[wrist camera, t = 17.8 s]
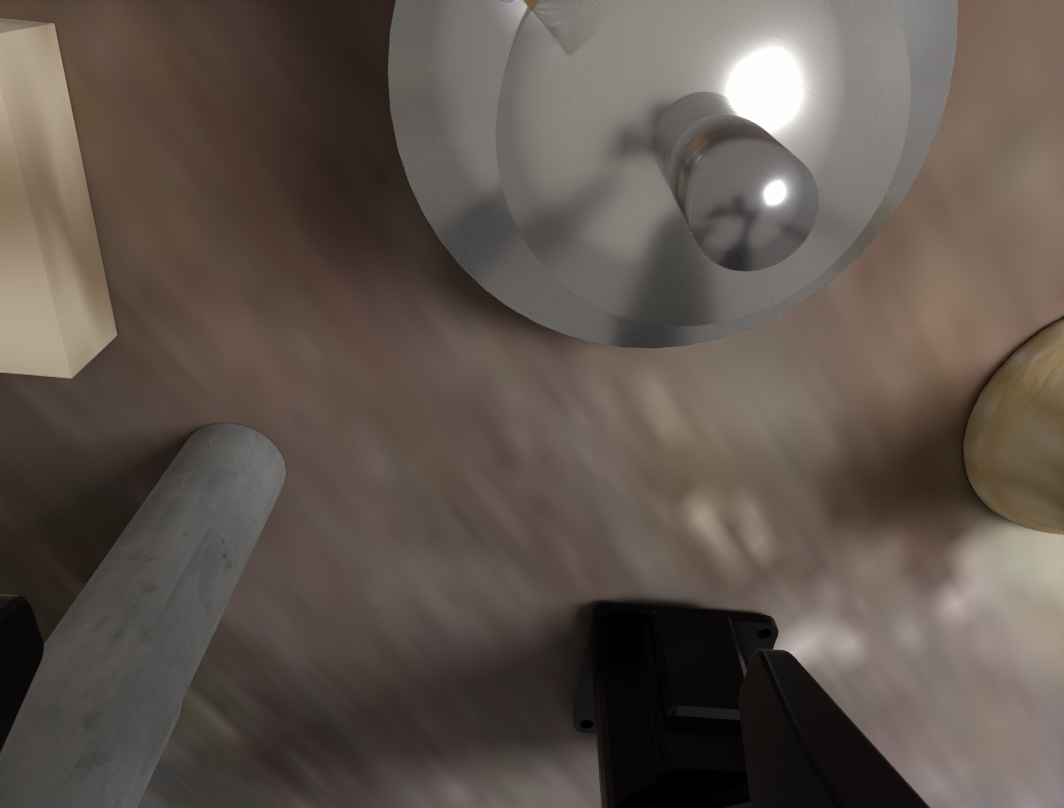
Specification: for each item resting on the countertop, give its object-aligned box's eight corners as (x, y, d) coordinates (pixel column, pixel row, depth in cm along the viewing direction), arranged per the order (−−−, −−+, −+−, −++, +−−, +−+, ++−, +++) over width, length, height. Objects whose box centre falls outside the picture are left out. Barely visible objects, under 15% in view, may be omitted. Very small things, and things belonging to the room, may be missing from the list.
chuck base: (830, 333, 22) (855, 367, 20) (400, 295, 21) (388, 326, 20) (1003, -205, 16) (1060, -222, 14) (404, -276, 15) (386, -302, 13)
